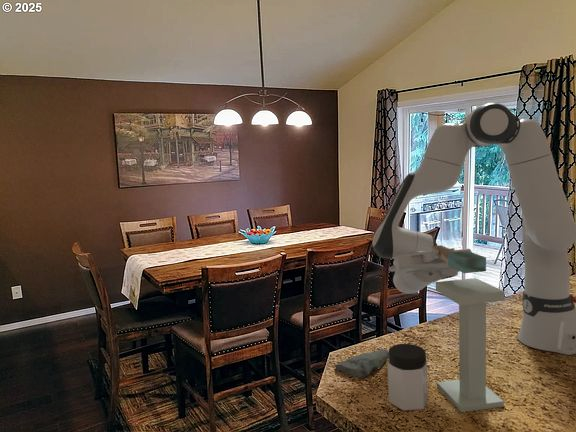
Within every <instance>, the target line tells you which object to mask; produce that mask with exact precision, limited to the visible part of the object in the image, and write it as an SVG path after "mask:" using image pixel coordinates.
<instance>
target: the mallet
mask: <svg viewBox="0 0 576 432" xmlns="http://www.w3.org/2000/svg"><path fill="white" fill-rule="evenodd" d="M433 250H440V253H441V257H439V259H441V260H443V261H446V262H448V266H450V267H452V268H454V269H456V270H458V271H460V272H461V273H463V274H471V273H472V274H473V273H480V272H487V257H485V256H483V255H480V254H478V253H475V252H473V251H472V252H470V251H463V252H457V251H454V250H452V249H451V248H449V247H446V246H444V245H437V246H432V251H433Z"/></svg>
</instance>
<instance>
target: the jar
mask: <svg viewBox="0 0 576 432" xmlns="http://www.w3.org/2000/svg"><path fill="white" fill-rule="evenodd" d="M388 352H389V357H388V362H387V393H388V402H389V403H390V404H392V405H394V406H395V407H397V408H398V409H400V410H401V411H417V410H424V409H425V407H426V404H427V401H428V399H429V398H428V393H429V392H428V391H429V390H428V361H427V353H426V350H425V349H424V348H422V347H421V346H419V345H415V344H411V343H399V344H395V345H392V346H391V347H390V348H388Z"/></svg>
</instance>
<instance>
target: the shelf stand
mask: <svg viewBox="0 0 576 432" xmlns="http://www.w3.org/2000/svg"><path fill="white" fill-rule="evenodd" d="M435 291H436V292H438V293H440V294H441V295H443V296H444V297H446V298H448V299H449V300H451V301H452V302H454V303H456V304H458V332H459V334H458V338H459V339H458V341H459V342H458V346H459V347H458V348H459V349H458V351H459V353H458V355H459V357H458V358H459V359H458V360H459V366H458V367H459V369H458V370H459V377H458V378H459V379H453V380H452V379H451V380H445V381H437V382H436V388H438V390H439V391H440V392H441V393H442V394H443V395H444V397H446V398H447V399H448V400H449V402H451V404H454V405H455V406H456V407H457V408H456V407H455V406H454V405H453V406H454V407H455V408H456V409H457V410H458V411H459V412H460V413H467V412H466V411H468V412H473V411H480V410H488V409H495V408H502V407H504V406H505V401H504V400H503V399H502V398H500V397H499V396H498V394H496V393H495V392H494V391H493V390H492V389H490V388H489V387H488V386H487V378H486V377H487V341H486V340H487V303H495V302H505V299H506V297H505V294H506V293H505V292H506V291H504V290H503V289H500V288H498V287H496V286H494V285H491V284H489V283H487V282H485V281H483V280H481V279H479V278H478V277H477V278H476V277H471V278H463V279H453V280H442V281H441V280H440V281H436V282H435Z"/></svg>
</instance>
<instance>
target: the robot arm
mask: <svg viewBox="0 0 576 432" xmlns="http://www.w3.org/2000/svg"><path fill="white" fill-rule="evenodd" d="M493 145H497V146H498V147H499V148H501V150H502V152H503V154H504V156H505V161H506V165H507V168H508V171H509V174H510V178H511V182H512V185H513V186H512V187H513V189H514V193H515V194H516V198H517V201H518V203H519V206H520V209H521V212H522V215H523V217H522V223H521V224H522V245H523V246H522V247H523V248H522V249H523V257H524V259H523V260H524V290H523V291H522V309H523V310H522V311H523V312H522V321H521V324H520V329H519V330H518V331H519V332H518V335H517V340H518V341H519V342H520V343H521V344H523V345H525V346H528V347H531V348H533V349H536V350H540V351H546V352H554V353H558V354H562V355H567V356H572V355H575V354H576V305H575V303H576V295H574V296H573V295H572V294H570V289H571V288H570V286H571V278H570V277H571V265H570V261H569V254H568V248H570V247H571V246H573V244H575V242H576V222H575V219H574V218H575V217H574V215H573V212H572V208H571V207H570V204H569V202H568V199H567V196H566V194H565V191H564V189H563V187H562V184H561V182H560V178H559V174H558V171H557V167H556V164H555V161H554V160H555V159H554V156H553V153H552V151H551V150H552V149H551V147H550V146H551V145H550V143H549V141H548V139H547V136H546V134H545V132H544V130H543V128H542V126H541V125H540V123H539V122H538V121H536V120H534V119H531V118H522V119H520V118H519V117H518V116H516V114H514V113H513V112H512V111H511V110H510V109H509V108H508V107H506V106H505V105H504V104H501V103H498V102H488V103H484V104H482V105H480V106H477V107H476V108H475V109H473V110H471V112H470V113H469V114H468V115H466V116H465V117H464V118H463V120H461V122H460V123H453V122H447V123H443V124H440V125H438V126H437V127H436V128H435V130H434V132H433V134H432V135H431V138H430V140H429V142H428V144H427V147H426V150H425V153H424V155H423V159H422V161H421V163H420V165H419V166H418V167H417V168H416V170H414V171H413V172H410V173H408V174H407V175H406V176H405V178H403V181H402V182H401V184H400V186H399V187H398V189H397V191H396V194H395V195H394V197H393V200H392V201H391V203H390V204H389V207H388V210H387V211H386V213H385V216H384V217H383V220H382V221H381V222H380V224H379V225H378V228H377V229H376V231H375V233H374V235H373V238H372V243H371V244H372V246H371V247H372V248H373V251H374V252H375V253H376V255H377V256H378V257H379V258H383V259H388V260H393V262H392V263H393V265H391V266H390V267H389V270H388V271H389V272H393V273H394V274H393V278H392V282H393V284H394V287H395V288H396V289H397V290H398V291H399V292H401V293H403V294H409V295H410V294H415V293H418V292H419V291H421V290H423V289H425V287H427V286H429V285H431V284H433V283H434V284H435V283H436V282H440V281H441V280H445V279H449V278H450V279H451V278H455V277H457V276H458V274H459V272H460V271H458V270H456V269H454V268H452V267H450V266H448V262H446V261H443V260H441V259H439V257H441V253H440V250H433V251H432V246H438V244H437V241H436V239H435V237H434V236H433V235H432V234H428V233H425V232H422V231H417V230H412V229H409V228H404V227H400V226H399V223H400V222H401V219H402V217H403V216H404V213H405V212H406V209H407V207H408V205H410V202H411V201H412V200H414V198H417V197H419V196H422V195H423V196H424V195H433V194H439V193H443V192H447V191H448V190H450V189H451V188H453V187H454V186H455V185H456V184H457V182H458V181H459V178H460V176H461V173H462V170H463V167H464V165H465V161H466V157H467V156H468V153H469V151H470V149H472V148H473V147H474V148H478V147H479V148H480V147H489V146H493ZM450 249H452V250H454V251H457V252H463V251H470V252H472V253H473V251H472V250H471V249H470V248H461V249H455V248H454V247H453V248H450Z"/></svg>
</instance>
